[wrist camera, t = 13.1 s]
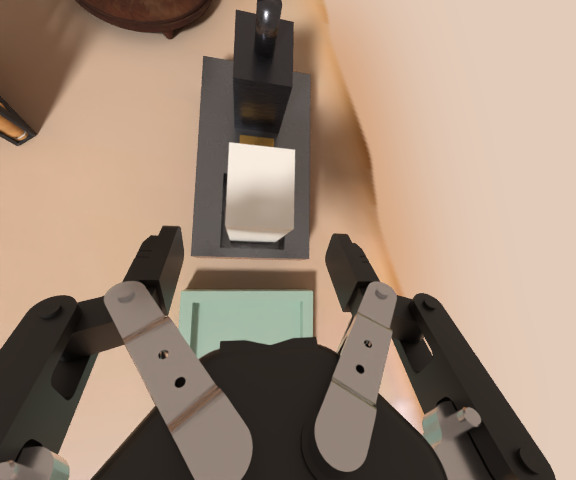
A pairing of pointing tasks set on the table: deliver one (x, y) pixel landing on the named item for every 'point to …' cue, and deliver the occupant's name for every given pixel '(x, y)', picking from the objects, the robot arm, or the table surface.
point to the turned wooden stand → (147, 13)
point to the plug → (259, 193)
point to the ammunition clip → (13, 125)
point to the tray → (244, 316)
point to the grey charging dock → (252, 130)
